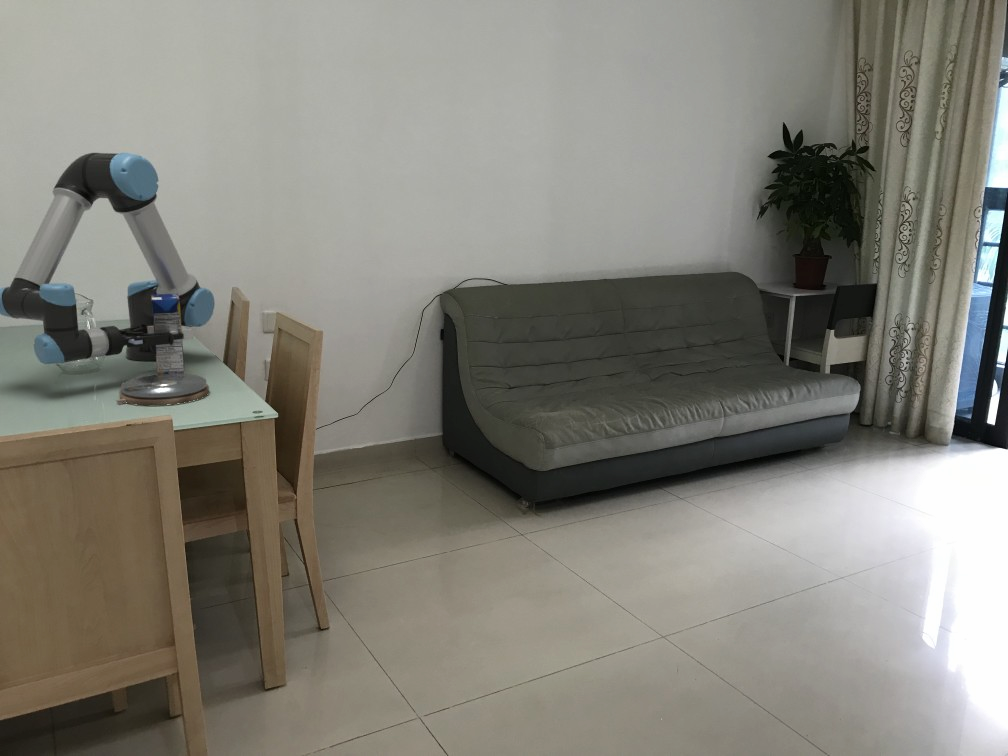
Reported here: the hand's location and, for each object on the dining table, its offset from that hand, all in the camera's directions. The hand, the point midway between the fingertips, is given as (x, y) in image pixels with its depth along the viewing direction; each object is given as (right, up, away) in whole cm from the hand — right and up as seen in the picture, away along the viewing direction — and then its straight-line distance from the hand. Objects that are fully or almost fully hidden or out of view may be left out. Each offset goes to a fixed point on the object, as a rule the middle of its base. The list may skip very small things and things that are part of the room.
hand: (180, 331), depth 226 cm
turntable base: (+4, -17, -20) cm, 27 cm away
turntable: (+4, -16, -21) cm, 26 cm away
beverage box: (-3, -13, 0) cm, 13 cm away
